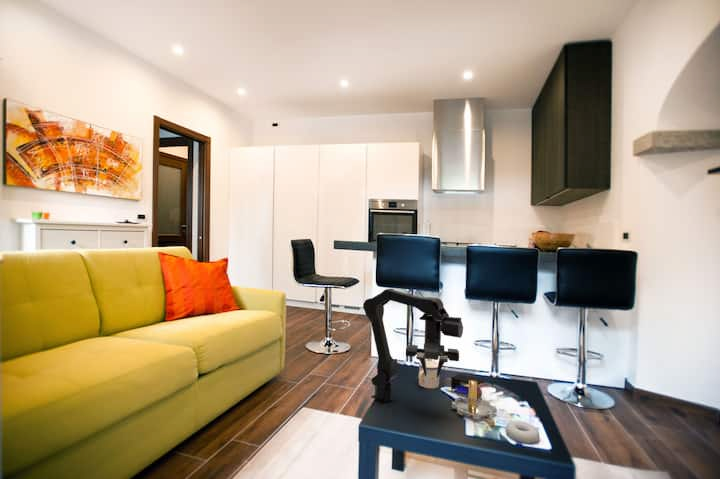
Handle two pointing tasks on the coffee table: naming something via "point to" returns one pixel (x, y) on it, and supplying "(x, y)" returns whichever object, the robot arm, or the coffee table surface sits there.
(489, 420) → the timing mark
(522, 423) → the donut
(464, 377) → the figurine character
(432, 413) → the coffee table surface
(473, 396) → the sprocket wheel
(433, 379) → the teacup with lid
